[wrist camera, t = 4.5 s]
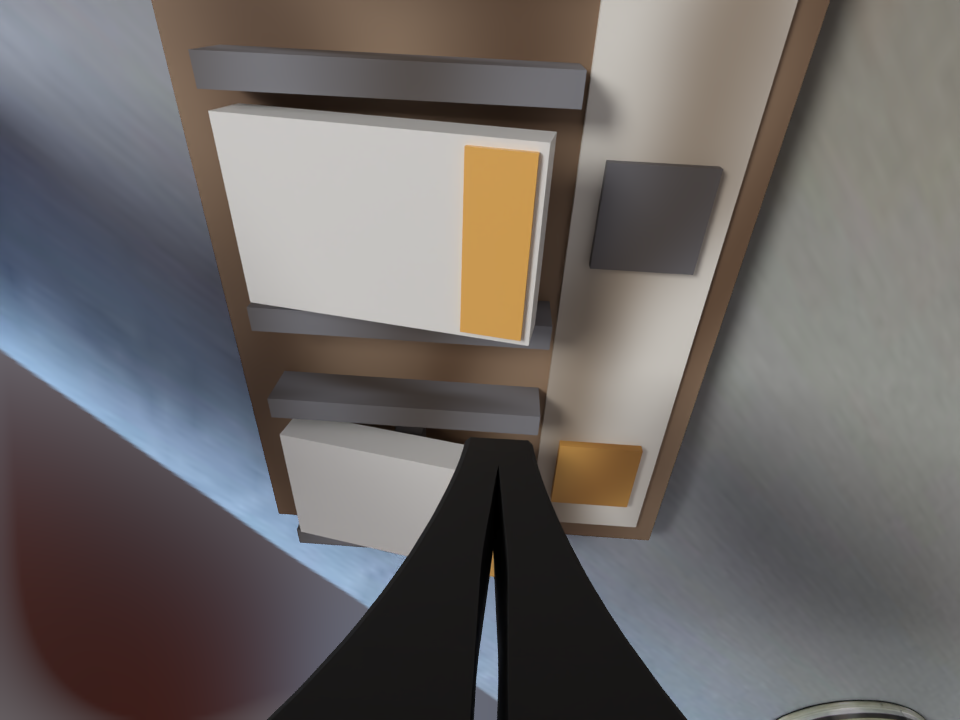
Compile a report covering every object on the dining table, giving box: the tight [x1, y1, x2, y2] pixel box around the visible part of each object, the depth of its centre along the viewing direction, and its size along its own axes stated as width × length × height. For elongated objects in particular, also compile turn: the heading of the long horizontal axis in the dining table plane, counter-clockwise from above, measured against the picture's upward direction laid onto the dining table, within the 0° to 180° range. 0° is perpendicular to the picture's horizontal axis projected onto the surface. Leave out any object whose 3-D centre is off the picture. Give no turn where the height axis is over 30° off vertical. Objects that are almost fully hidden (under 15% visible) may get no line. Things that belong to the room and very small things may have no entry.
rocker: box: [280, 419, 494, 577], centre depth 19 cm, size 8×5×1 cm, turn 87°
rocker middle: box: [208, 103, 557, 346], centre depth 14 cm, size 8×5×1 cm, turn 87°
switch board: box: [151, 0, 830, 547], centre depth 15 cm, size 16×28×3 cm, turn 178°
